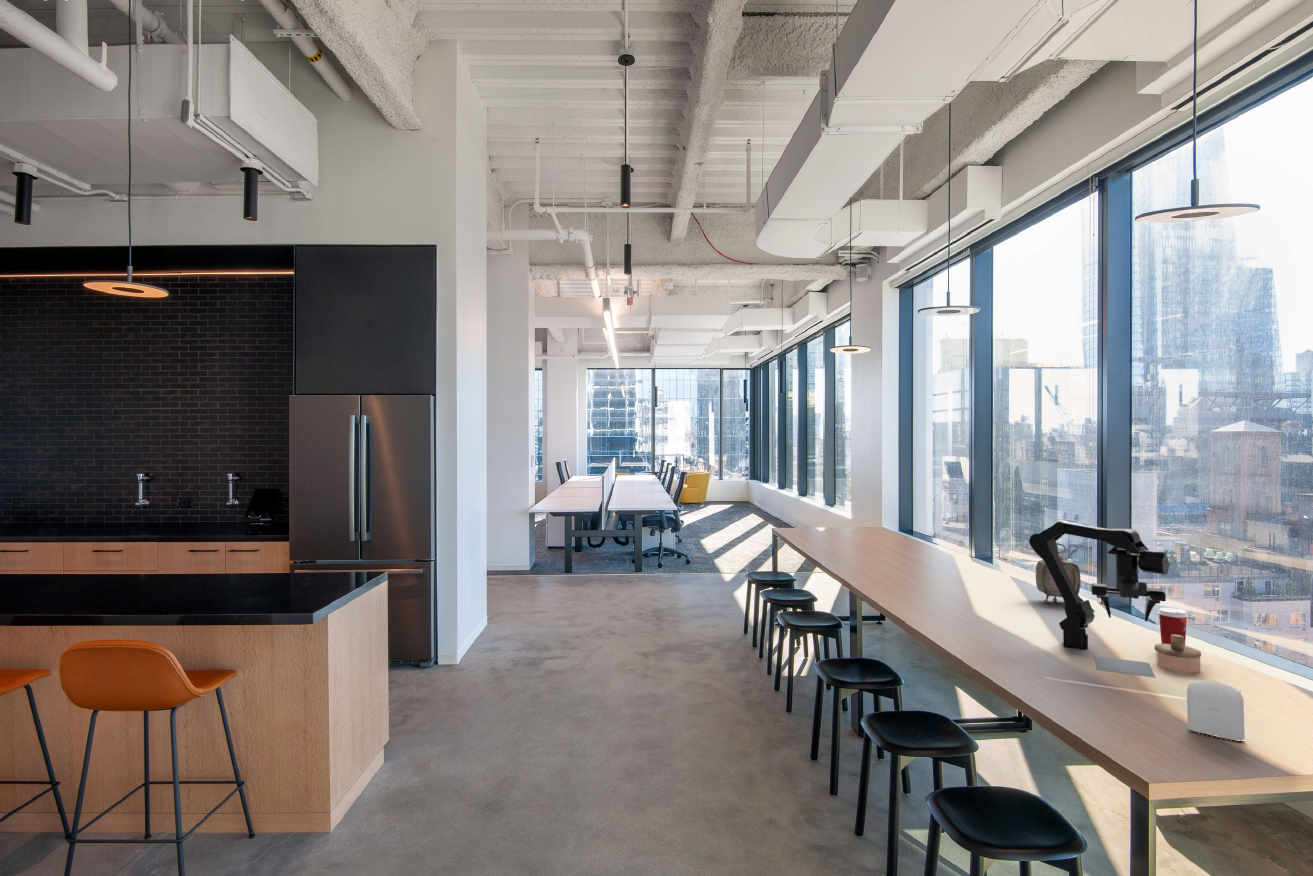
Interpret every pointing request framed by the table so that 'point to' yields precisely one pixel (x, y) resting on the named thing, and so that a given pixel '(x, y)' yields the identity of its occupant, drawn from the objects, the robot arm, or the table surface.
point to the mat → (1124, 666)
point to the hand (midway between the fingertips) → (1127, 619)
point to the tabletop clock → (1046, 580)
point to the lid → (1177, 648)
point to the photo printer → (1215, 709)
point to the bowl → (1178, 663)
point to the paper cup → (1172, 623)
